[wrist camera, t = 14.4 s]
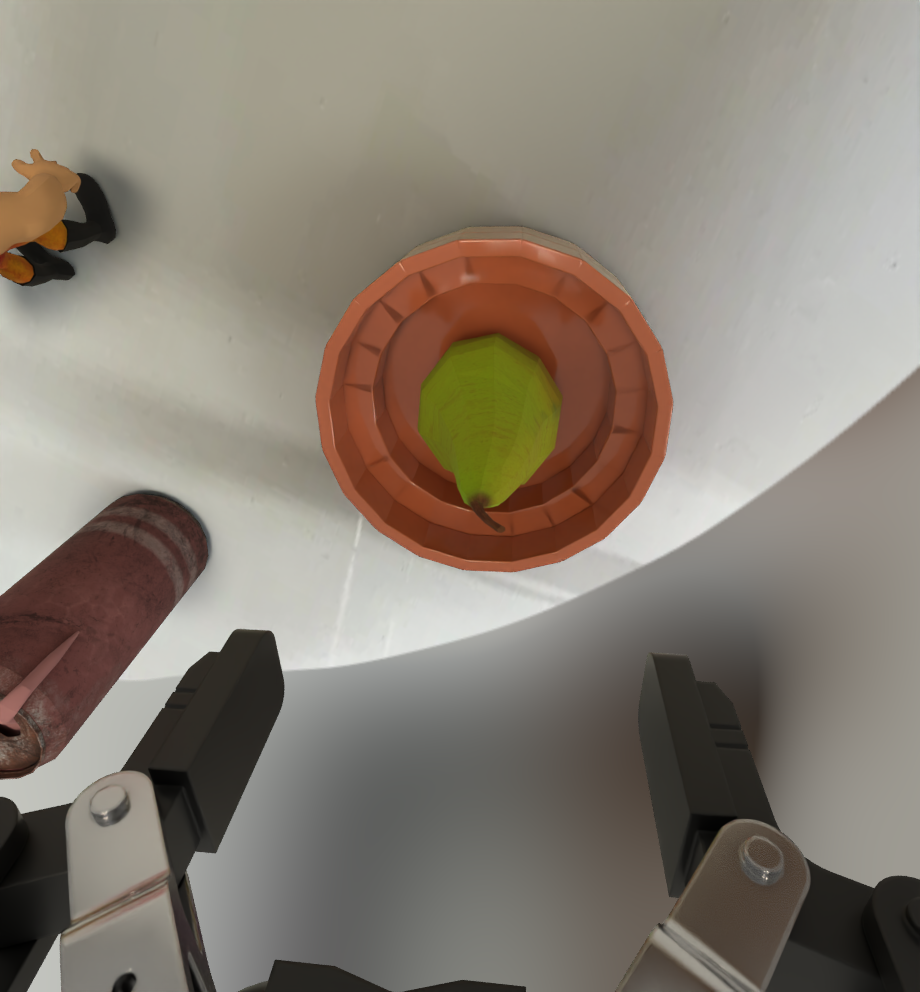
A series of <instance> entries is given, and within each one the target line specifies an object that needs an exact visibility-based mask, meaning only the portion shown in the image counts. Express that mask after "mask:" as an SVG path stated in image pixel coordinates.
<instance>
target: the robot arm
mask: <svg viewBox="0 0 920 992" xmlns="http://www.w3.org/2000/svg"><path fill="white" fill-rule="evenodd" d="M283 698H284V679H283V674H282V669H281V665H280V660H279V655H278V651H277V646H276V641H275V637H274V634H273V633H272V632H271V631H265V630H246V629H236V630H235V631H233V632H232V634H231V635H230V637H229V638H228V640H227V642H226V643H225V645H224V646H223V648H222V650H221V651H220V652H208V653H207V654H206V655H205V656H204V657H202V658H201V659H200V660H199V661H197V662H196V663H195V664H194V665H192V666H191V667H190V668H189V669H188V670H187V672H186V673H185V675H184V677H183V678H182V680H181V681H180V683H179V684H178V686H177V687H176V691H175V692H173V693H172V695H171V696H170V698H169V699H168V701H167V702H166V704H165V708H162V710H161V711H160V713H159V714H158V716H157V717H156V719H155V720H154V722H153V723H152V725H151V726H150V728H149V729H148V731H147V732H146V734H145V735H144V737H143V738H142V740H141V741H140V743H139V744H138V746H137V747H136V749H135V750H134V752H133V753H132V755H131V756H130V758H129V759H128V761H127V762H126V764H125V765H124V767H123V768H122V770H121V771H120V772H116V773H112V774H110V775H107V776H105V777H103V778H101V779H99V780H97V781H95V782H94V783H92V784H91V785H90V786H88V787H87V788H86V789H85V790H83V791H82V792H81V793H80V794H79V796H78V797H77V798H76V799H75V800H74V802H73V803H69V804H66V805H61V806H56V807H52V808H47V809H43V810H38V811H33V812H29V813H24V814H21V813H20V812H19V810H18V808H17V806H16V805H15V803H14V802H13V801H11V800H10V799H8V798H5V797H0V992H27V990H28V988H29V987H30V985H31V983H32V981H33V979H34V978H35V976H36V974H37V972H38V970H39V968H40V967H41V965H42V963H43V961H44V959H45V958H46V956H47V954H48V952H49V950H50V949H51V947H52V945H53V943H54V941H55V939H56V938H57V936H58V934H60V933H61V937H60V964H61V965H60V968H61V992H216V989H215V985H214V982H213V979H212V976H211V973H210V969H209V965H208V961H207V957H206V952H205V948H204V944H203V940H202V935H201V931H200V926H199V922H198V917H197V912H196V908H195V904H194V899H193V895H192V890H191V886H190V881H189V877H188V874H187V871H186V869H187V867H188V865H189V863H190V861H191V859H192V857H193V854H194V853H195V851H197V852H207V853H216V852H217V850H218V847H219V845H220V843H221V841H222V839H223V836H224V834H225V832H226V830H227V827H228V825H229V823H230V821H231V819H232V816H233V814H234V812H235V810H236V808H237V805H238V803H239V801H240V799H241V796H242V794H243V792H244V790H245V788H246V785H247V783H248V781H249V778H250V777H251V774H252V772H253V770H254V768H255V765H256V763H257V761H258V759H259V756H260V754H261V752H262V750H263V748H264V746H265V743H266V741H267V739H268V737H269V734H270V732H271V730H272V728H273V726H274V723H275V721H276V719H277V717H278V714H279V712H280V710H281V707H282V703H283ZM638 723H639V734H640V741H641V746H642V752H643V756H644V762H645V767H646V773H647V779H648V784H649V789H650V795H651V800H652V806H653V811H654V817H655V822H656V828H657V833H658V838H659V844H660V849H661V855H662V860H663V866H664V871H665V877H666V882H667V887H668V893H669V897H676V898H679V899H678V901H677V902H676V904H675V906H674V907H673V909H672V911H671V912H670V914H669V916H668V917H667V919H666V920H665V922H664V923H663V924H660V923H659V924H658V925H656V927H655V928H654V929H653V930H652V932H651V933H650V934H649V936H648V938H647V939H646V941H645V943H644V944H643V946H642V947H641V949H640V951H639V952H638V954H637V956H636V957H635V959H634V961H633V962H632V964H631V965H630V968H629V969H628V971H627V972H626V974H625V975H624V977H623V979H622V980H621V982H620V984H619V985H618V987H617V989H616V990H615V992H920V880H919V879H916V878H912V877H907V876H891V877H888V878H885V879H883V880H882V881H880V882H879V883H878V884H877V886H876V887H875V888H872V887H870V886H867V885H864V884H861V883H859V882H856V881H854V880H851V879H848V878H846V877H843V876H841V875H837V874H835V873H833V872H830V871H828V870H826V869H823V868H821V867H819V866H818V865H816V864H814V863H812V862H811V861H810V860H808V859H807V858H805V857H804V856H803V854H802V852H801V851H800V850H799V848H798V847H797V846H796V845H795V844H794V842H793V841H792V840H791V839H790V838H788V837H787V836H786V835H785V834H784V833H782V832H781V831H780V829H779V827H778V826H777V823H776V821H775V819H774V816H773V813H772V810H771V808H770V805H769V802H768V799H767V797H766V794H765V792H764V788H763V785H762V783H761V780H760V778H759V775H758V772H757V769H756V766H755V764H754V761H753V758H752V755H751V752H750V750H748V744H747V741H746V739H745V736H744V734H743V731H742V730H741V725H740V722H739V719H738V717H737V714H736V711H735V709H734V706H733V703H732V702H731V701H730V699H729V698H728V697H727V696H726V695H725V694H724V693H723V692H722V690H721V689H720V688H719V687H718V686H717V685H716V683H714V682H700V681H696V680H695V676H694V674H693V670H692V667H691V664H690V661H689V658H688V656H687V655H685V654H666V653H649V654H648V655H647V660H646V665H645V671H644V678H643V683H642V690H641V696H640V702H639V712H638ZM238 992H391V991H388V990H386V989H384V988H381V987H380V986H377V985H375V984H373V983H371V982H369V981H366V980H364V979H362V978H360V977H358V976H355V975H353V974H351V973H349V972H346V971H344V970H342V969H340V968H338V967H335V966H329V965H319V964H310V963H301V962H291V961H282V960H275V961H274V965H273V968H272V971H271V974H270V977H269V980H268V981H266V982H261V983H258V984H255V985H253V986H250V987H247V988H244V989H242V990H240V991H238ZM405 992H526V987H524V986H514V985H505V984H496V983H486V982H476V981H468V980H460V981H455V982H449V983H444V984H439V985H435V986H429V987H424V988H419V989H414V990H409V991H405Z"/></svg>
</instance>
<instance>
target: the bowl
mask: <svg viewBox="0 0 920 992" xmlns="http://www.w3.org/2000/svg"><path fill="white" fill-rule="evenodd" d="M495 333H500V334H501V335H503V336H505V337H506V338H508V339H510V340H512V341H513V342H515V343H517V344H518V345H520V346H522V347H523V348H525V349H527V350H529V351H530V352H532V353H534V354H535V355H537V356H539V357H540V359H541V361H542V362H543V364H544V366H545V367H546V369H547V371H548V372H549V374H550V376H551V377H552V379H553V381H554V382H555V384H556V386H557V387H558V389H559V391H560V392H561V394H562V396H563V398H562V405H561V411H560V418H559V424H558V430H557V437H556V443H555V448H554V450H553V451H552V452H551V453H550V454H549V456H548V457H547V458H546V459H545V460H544V462H543V463H542V464H541V465H540V466H539V468H538V469H537V470H536V471H535V473H534V474H533V475H532V476H531V477H530V479H529V480H528V481H527V482H526V483H525V484H523V485H520V486H519V487H518V488H517V489H516V490H515V491H514V492H513V493H512V494H511V495H510V496H509V497H508V498H507V499H506V500H505V501H504V502H502V503H501V504H500V505H498V506H495V507H491V508H484V510H485V512H486V513H487V514H488V515H489V516H490V517H491V518H492V519H493V520H494V521H495V522H497V523H499V524H500V525H502V526H504V527H505V531H504V532H502V533H498V532H496V531H495V530H494V529H492V528H491V527H489V526H488V525H487V524H485V523H484V522H483V521H482V520H481V519H480V518H479V517H478V516H477V515H476V514H475V512H474V511H473V510H472V508H471V507H470V506H469V505H467V504H465V503H464V501H463V499H462V496H461V494H460V492H459V490H458V487H457V483H456V478H455V475H454V473H453V472H450V471H448V470H446V469H444V468H443V467H442V465H441V464H440V462H439V461H438V459H437V458H436V457H435V455H434V454H433V452H432V451H431V450H430V448H429V447H428V445H427V444H426V443H425V441H424V440H423V438H422V437H421V435H420V434H419V432H418V416H419V404H420V391H421V383H422V382H423V381H424V380H425V379H426V377H427V376H428V375H429V373H430V372H431V371H432V369H433V368H434V367H435V365H436V364H437V363H438V362H439V360H440V359H441V358H442V356H443V355H444V354H445V352H446V351H447V350H448V348H449V347H450V346H451V344H452V343H453V342H456V341H461V340H466V339H471V338H476V337H480V336H485V335H490V334H495ZM315 398H316V400H315V401H316V408H317V415H318V423H319V430H320V437H321V444H322V449H323V452H324V454H325V456H326V458H327V460H328V462H329V465H330V467H331V469H332V471H333V473H334V475H335V477H336V479H337V481H338V483H339V485H340V487H341V489H342V492H343V493H344V494H345V496H346V497H347V498H348V499H349V500H350V501H351V502H352V504H353V505H354V506H355V507H356V508H357V509H358V510H359V511H360V512H361V513H362V515H363V516H364V517H365V518H366V519H367V520H368V521H369V522H370V523H371V524H372V525H373V527H374V528H375V529H377V530H378V531H379V532H380V533H382V534H384V535H385V536H387V537H388V538H390V539H392V540H393V541H395V542H396V543H398V544H400V545H401V546H403V547H404V548H406V549H408V550H409V551H411V552H412V553H414V554H416V555H418V556H419V557H422V558H426V559H429V560H432V561H436V562H439V563H442V564H445V565H449V566H452V567H455V568H458V569H462V570H471V571H496V572H513V571H514V572H517V571H522V570H526V569H531V568H535V567H540V566H544V565H548V564H553V563H557V562H561V561H564V560H565V559H567V558H569V557H571V556H573V555H575V554H577V553H579V552H580V551H582V550H584V549H586V548H588V547H590V546H592V545H594V544H595V543H597V542H599V541H601V540H603V539H605V537H607V536H608V535H609V534H610V533H611V532H612V531H613V530H614V529H615V528H616V527H617V526H618V525H619V524H620V523H621V522H622V521H623V520H624V519H625V518H626V517H627V516H628V515H629V514H630V513H631V512H632V511H633V510H634V509H635V508H636V507H637V506H638V505H639V504H640V503H641V502H642V500H643V498H644V497H645V495H646V493H647V491H648V489H649V487H650V485H651V483H652V481H653V479H654V477H655V476H656V474H657V472H658V470H659V468H660V466H661V464H662V462H663V460H664V458H665V455H666V450H667V443H668V437H669V430H670V424H671V417H672V410H673V398H672V393H671V388H670V383H669V378H668V373H667V368H666V363H665V358H664V353H663V349H662V347H661V345H660V343H659V342H658V340H657V338H656V337H655V335H654V334H653V332H652V330H651V329H650V327H649V325H648V324H647V322H646V320H645V319H644V317H643V316H642V314H641V312H640V311H639V309H638V307H637V306H636V304H635V303H634V301H633V299H632V298H631V296H630V295H629V294H628V292H627V291H626V289H625V288H624V287H623V285H622V284H621V282H620V281H619V280H618V279H617V278H616V276H615V275H613V274H612V273H611V272H610V271H608V270H607V269H606V268H605V267H603V266H602V265H601V264H600V263H598V262H597V261H596V260H595V259H593V258H592V257H591V256H590V255H588V254H587V253H586V252H585V251H583V250H582V249H581V248H580V247H578V246H577V245H574V244H573V243H571V242H568V241H565V240H562V239H559V238H556V237H553V236H551V235H548V234H545V233H542V232H539V231H536V230H533V229H530V228H527V227H523V226H489V227H468V228H464V229H461V230H458V231H456V232H453V233H450V234H447V235H445V236H442V237H439V238H436V239H434V240H431V241H428V242H426V243H423V244H420V245H419V246H416V247H415V248H414V249H413V250H412V251H410V252H409V253H408V254H407V255H405V256H404V257H403V258H402V259H401V260H399V261H398V262H397V263H396V264H395V265H393V266H392V267H391V268H390V269H389V270H387V271H386V272H385V273H384V274H382V275H381V276H380V277H379V278H378V279H376V280H375V281H374V282H373V283H372V284H370V285H369V286H368V287H367V288H366V289H364V290H363V291H362V292H361V293H360V294H358V295H357V296H356V297H355V298H354V299H353V300H352V302H351V304H350V305H349V307H348V309H347V311H346V312H345V314H344V316H343V317H342V319H341V321H340V322H339V324H338V326H337V327H336V329H335V331H334V332H333V334H332V336H331V338H330V339H329V341H328V343H327V344H326V347H325V350H324V355H323V361H322V366H321V371H320V376H319V381H318V386H317V391H316V396H315Z"/></svg>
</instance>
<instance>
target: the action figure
mask: <svg viewBox="0 0 920 992" xmlns="http://www.w3.org/2000/svg"><path fill="white" fill-rule="evenodd" d="M30 154H31V158H32V159H33V161H34V163H33V164H26V163H25V162H23V161H21V160H17V159H15V160H14V161H13V162H12V166H13V168H14V169H15V170H16V171H17V172H18V173H20V174H21V175H23V176H25V177H26V178H27V179H28V180H29V182H28V183H27V184H26V185H25V186H24V187H23V188H22V189H21V190H20V191H19V192H0V274H1V275H2V276H3V277H5V278H7V279H9V280H12V281H13V282H15V283H17V284H19V285H22V286H35V285H39V284H42V283H46V282H48V281H50V280H52V279H56V280H69V279H70V278H71V277H72V276H73V275H75V272H74V268H73V267H72V266H71V265H70V264H69V263H68V262H66V261H64V260H62V259H59V258H56V257H54V256H52V255H50V254H49V253H48V252H47V251H46V250H44V249H43V248H42V246H44V247H46V248H48V249H52V250H58V251H59V252H60V253H61V252H65V251H69V250H73V249H77V248H81V247H84V246H86V245H87V244H89V243H91V242H92V241H99V242H102V243H106V244H108V243H109V242H111V241H112V240H113V239H114V238H115V235H116V229H115V225H114V222H113V220H112V218H111V214H110V211H109V208H108V205H107V201H106V199H105V197H104V194H103V192H102V191H101V189H100V187H99V186H98V184H97V183H96V182H95V181H94V179H93V178H91V177H90V176H88V175H86V174H82V173H77V174H75V173H74V172H72V171H70V170H69V169H68V168H66V167H64V166H61V165H58V164H57V162H56V161H47V160H44V159H43V158H42V156H41V154H40V153H39V151H38V150H36V149H32V150H31V152H30ZM68 190H70V191H71V192H73V193H75V194H76V196H77V198H78V200H79V201H80V203H81V205H82V207H83V209H84V211H85V215H86V222H85V223H78V222H75V221H70V220H62V219H63V217H64V214H65V212H66V209H67V202H66V197H65V194H64V192H67V191H68ZM41 245H42V246H41ZM13 248H17V249H18V250H19V251H20V252H21V253H22V254H23V255H24V256H20V255H15V254H11V253H8V252H7V251H8V250H10V249H13Z"/></svg>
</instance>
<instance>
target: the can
mask: <svg viewBox="0 0 920 992" xmlns="http://www.w3.org/2000/svg"><path fill="white" fill-rule="evenodd" d="M207 559H208V549H207V541H206V536H205V534H204V532H203V530H202V528H201V526H200V524H199V522H198V521H197V520H196V519H195V518H194V517H193V515H192V514H191V513H190V512H189V511H188V510H186V509H185V508H183V507H182V506H180V505H179V504H178V503H176V502H174V501H171V500H169V499H166V498H164V497H161V496H155V495H147V494H135V495H129V496H123V497H121V498H120V499H118V500H116V501H115V502H113V503H111V504H110V505H109V506H108V507H106V508H105V509H104V510H103V511H102V512H100V513H99V514H98V515H97V516H96V517H94V518H93V519H92V520H91V521H90V522H88V523H87V524H86V525H85V526H84V527H82V528H81V529H80V530H79V531H78V532H76V533H75V534H74V535H73V536H72V537H70V538H69V539H68V540H67V541H66V542H65V543H63V544H62V545H61V546H60V547H59V548H57V549H56V550H55V551H54V552H53V553H51V554H50V555H49V556H48V557H47V558H45V559H44V560H43V561H42V562H41V563H39V564H38V565H37V566H36V567H35V568H33V569H32V570H31V571H30V572H29V573H27V574H26V575H25V576H24V577H23V578H22V579H20V580H19V581H18V582H17V583H16V584H14V585H13V586H12V587H11V588H10V589H8V590H7V591H6V592H5V593H4V594H2V595H1V596H0V780H3V779H17V778H21V777H23V776H26V775H28V774H31V773H33V772H34V771H35V769H36V768H38V767H40V766H42V765H44V764H46V763H48V762H50V761H52V760H53V759H55V758H56V757H57V756H58V755H59V754H60V752H61V751H62V750H63V749H64V748H65V747H66V745H67V744H68V743H69V741H70V740H71V739H72V738H73V736H74V735H75V734H76V732H77V731H78V730H79V729H80V727H81V726H82V725H83V724H84V722H85V721H86V720H87V718H88V717H89V716H90V715H91V713H92V712H93V711H94V709H95V708H96V707H97V706H98V704H99V703H100V702H101V700H102V699H103V698H104V697H105V695H106V694H107V693H108V692H109V690H110V689H111V688H112V686H113V685H114V684H115V682H116V681H117V680H118V679H119V677H120V676H121V675H122V674H123V672H124V671H125V670H126V668H127V667H128V666H129V665H130V663H131V662H132V661H133V660H134V658H135V657H136V656H137V654H138V653H139V652H140V651H141V649H142V648H143V647H144V645H145V644H146V643H147V642H148V640H149V639H150V638H151V636H152V635H153V634H154V633H155V631H156V630H157V629H158V628H159V626H160V625H161V624H162V622H163V621H164V620H165V619H166V617H167V616H168V615H169V613H170V612H171V611H172V610H173V608H174V607H175V606H176V604H177V603H178V602H179V601H180V599H181V598H182V597H183V596H184V594H185V593H186V592H187V590H188V589H189V588H190V587H191V585H192V584H193V583H194V581H195V580H196V579H197V578H198V576H199V575H200V574H201V572H202V571H203V570H204V569H205V566H206V562H207Z"/></svg>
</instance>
